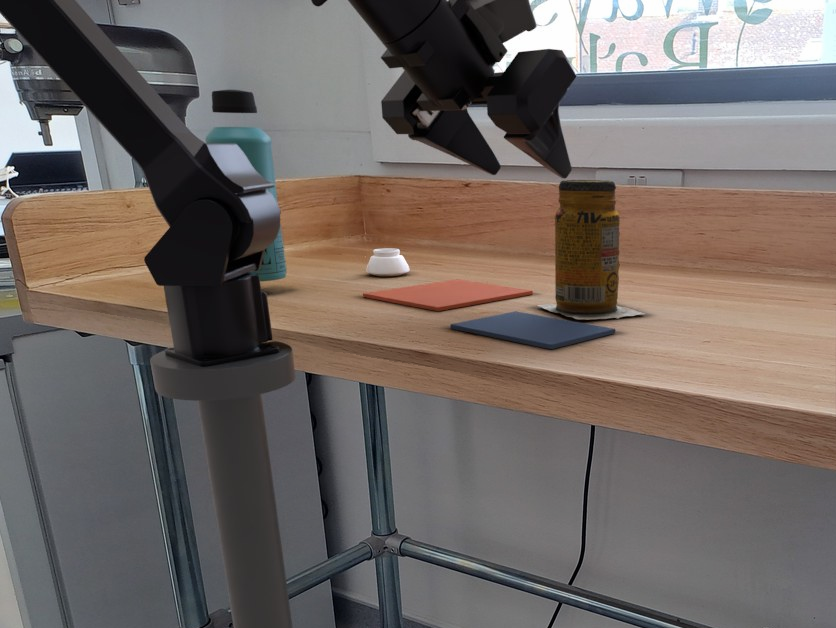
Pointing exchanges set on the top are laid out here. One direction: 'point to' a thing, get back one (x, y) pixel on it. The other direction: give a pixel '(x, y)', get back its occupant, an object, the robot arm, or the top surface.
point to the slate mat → (533, 329)
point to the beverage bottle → (260, 158)
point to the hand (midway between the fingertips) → (531, 172)
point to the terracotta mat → (447, 294)
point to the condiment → (587, 252)
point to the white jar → (387, 263)
